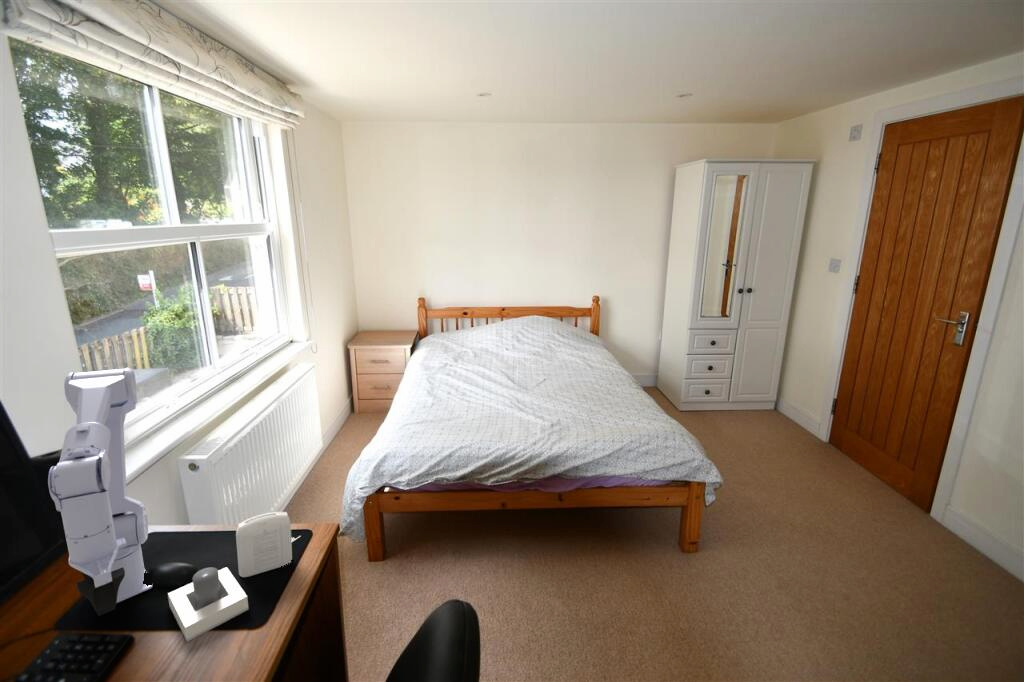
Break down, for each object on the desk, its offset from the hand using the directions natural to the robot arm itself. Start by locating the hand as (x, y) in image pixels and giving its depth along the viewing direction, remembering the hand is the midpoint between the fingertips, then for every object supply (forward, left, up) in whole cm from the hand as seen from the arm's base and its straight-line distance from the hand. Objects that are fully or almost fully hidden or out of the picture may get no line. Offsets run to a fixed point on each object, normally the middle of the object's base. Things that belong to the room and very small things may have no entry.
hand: (102, 598), depth 78 cm
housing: (+3, +14, -9) cm, 17 cm away
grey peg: (+3, +14, -9) cm, 17 cm away
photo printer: (-1, +26, -10) cm, 28 cm away
